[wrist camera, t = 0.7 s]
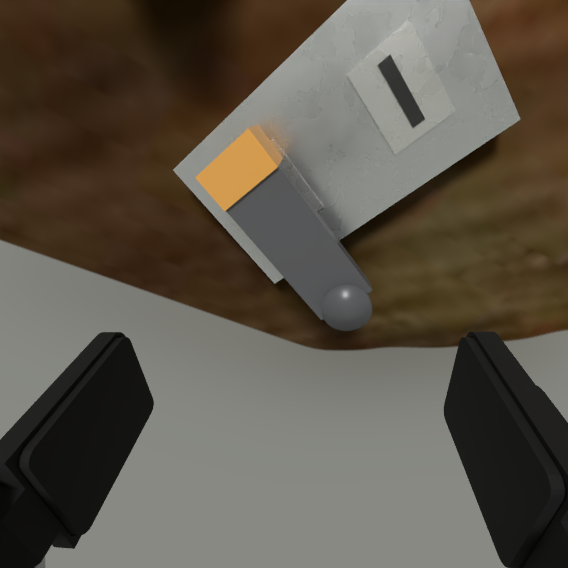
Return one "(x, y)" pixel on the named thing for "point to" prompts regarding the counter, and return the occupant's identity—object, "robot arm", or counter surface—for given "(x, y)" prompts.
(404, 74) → the panel
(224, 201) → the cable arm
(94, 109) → the counter surface
